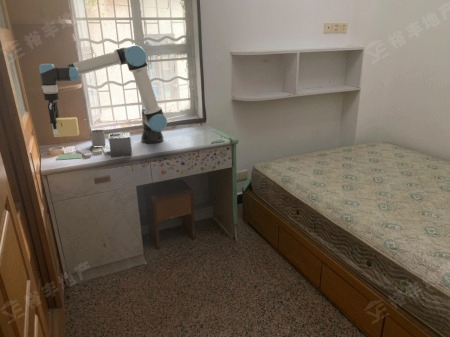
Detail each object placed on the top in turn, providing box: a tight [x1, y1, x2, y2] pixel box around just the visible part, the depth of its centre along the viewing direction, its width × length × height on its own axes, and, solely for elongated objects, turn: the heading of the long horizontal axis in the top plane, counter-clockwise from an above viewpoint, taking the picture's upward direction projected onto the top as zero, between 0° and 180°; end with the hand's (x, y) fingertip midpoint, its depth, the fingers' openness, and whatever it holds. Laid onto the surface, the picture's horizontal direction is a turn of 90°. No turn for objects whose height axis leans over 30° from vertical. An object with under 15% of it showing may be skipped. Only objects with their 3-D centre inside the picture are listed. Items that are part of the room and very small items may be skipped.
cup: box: [90, 129, 106, 147], centre depth 233 cm, size 8×8×10 cm
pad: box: [55, 152, 83, 161], centre depth 213 cm, size 14×9×1 cm, turn 104°
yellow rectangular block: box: [53, 116, 80, 138], centre depth 207 cm, size 13×5×10 cm, turn 104°
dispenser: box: [107, 132, 133, 158], centre depth 218 cm, size 13×12×12 cm
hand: (57, 132), depth 207 cm, fingers closed on yellow rectangular block, 5 cm apart
